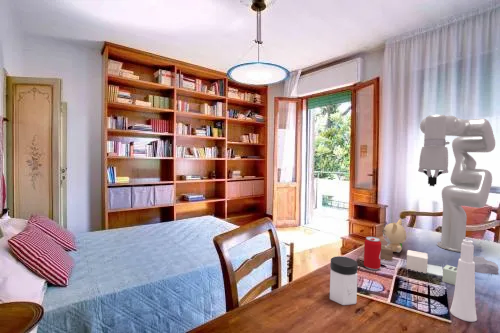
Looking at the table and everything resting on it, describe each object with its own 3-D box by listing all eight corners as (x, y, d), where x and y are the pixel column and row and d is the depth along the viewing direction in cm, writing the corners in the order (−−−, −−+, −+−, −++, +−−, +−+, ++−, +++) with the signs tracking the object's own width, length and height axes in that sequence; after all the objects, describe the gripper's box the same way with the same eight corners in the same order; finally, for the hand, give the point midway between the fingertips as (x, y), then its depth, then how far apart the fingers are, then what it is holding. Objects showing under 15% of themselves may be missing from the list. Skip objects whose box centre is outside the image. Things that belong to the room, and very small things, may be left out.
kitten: (387, 244, 136) (389, 215, 135) (409, 249, 129) (411, 219, 128) (377, 251, 126) (378, 220, 125) (400, 257, 119) (402, 225, 118)
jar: (336, 306, 79) (338, 267, 78) (323, 292, 87) (324, 257, 86) (363, 303, 81) (364, 265, 80) (347, 290, 89) (349, 255, 88)
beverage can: (382, 267, 108) (383, 238, 107) (377, 272, 103) (378, 242, 102) (366, 263, 112) (367, 235, 111) (361, 267, 107) (362, 238, 107)
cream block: (406, 263, 113) (407, 249, 112) (426, 267, 109) (427, 253, 108) (406, 269, 107) (406, 254, 106) (426, 274, 103) (427, 259, 103)
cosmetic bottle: (445, 308, 79) (449, 236, 78) (465, 309, 79) (470, 237, 78) (460, 321, 73) (465, 243, 72) (482, 322, 73) (487, 244, 72)
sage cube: (445, 277, 100) (446, 264, 100) (462, 282, 96) (463, 268, 96) (442, 281, 97) (443, 267, 97) (459, 286, 93) (460, 272, 93)
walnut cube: (379, 255, 121) (379, 244, 121) (391, 257, 119) (391, 246, 119) (379, 259, 117) (380, 247, 116) (392, 261, 115) (392, 249, 114)
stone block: (473, 277, 105) (502, 274, 103) (471, 265, 105) (499, 262, 103) (456, 266, 117) (481, 263, 115) (454, 255, 117) (479, 252, 115)
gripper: (456, 144, 112) (453, 186, 113) (415, 144, 121) (413, 183, 122) (456, 143, 106) (453, 188, 107) (413, 143, 116) (410, 185, 116)
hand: (432, 185), depth 115 cm, fingers closed
